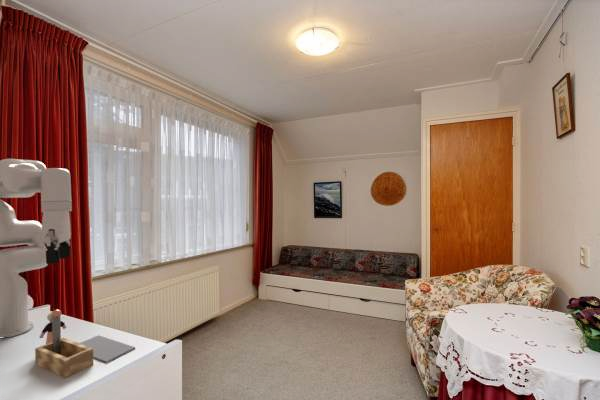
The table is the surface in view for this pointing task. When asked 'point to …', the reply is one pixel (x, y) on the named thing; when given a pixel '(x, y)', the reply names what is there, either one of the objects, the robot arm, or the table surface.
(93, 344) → the rubber mat
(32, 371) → the table surface
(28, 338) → the table surface
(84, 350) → the open wooden frame
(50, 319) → the grandmother figurine
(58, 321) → the post stand
